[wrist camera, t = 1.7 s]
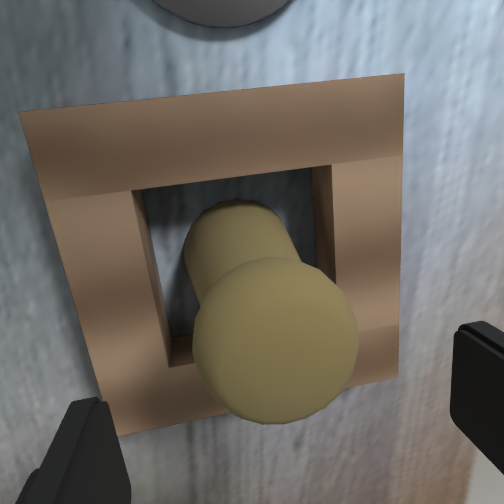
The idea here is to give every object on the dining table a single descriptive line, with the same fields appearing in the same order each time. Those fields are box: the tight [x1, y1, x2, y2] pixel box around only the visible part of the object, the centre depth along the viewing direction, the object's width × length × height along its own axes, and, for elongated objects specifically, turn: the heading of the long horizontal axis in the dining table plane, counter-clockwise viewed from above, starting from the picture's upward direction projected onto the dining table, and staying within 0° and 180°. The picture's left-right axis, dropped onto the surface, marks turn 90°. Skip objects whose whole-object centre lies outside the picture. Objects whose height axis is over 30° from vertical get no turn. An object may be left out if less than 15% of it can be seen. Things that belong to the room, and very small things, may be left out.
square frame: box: [18, 73, 405, 436], centre depth 19 cm, size 16×16×3 cm
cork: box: [184, 199, 359, 424], centre depth 15 cm, size 6×6×11 cm
